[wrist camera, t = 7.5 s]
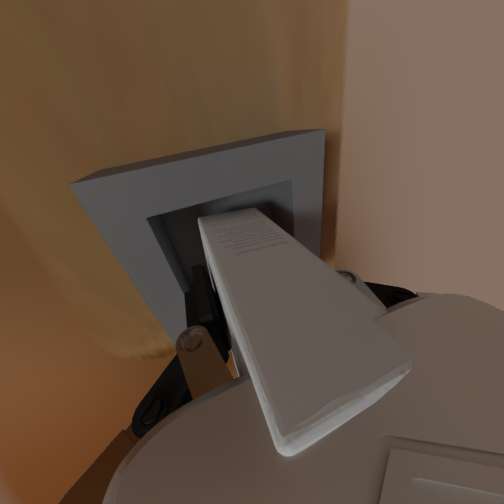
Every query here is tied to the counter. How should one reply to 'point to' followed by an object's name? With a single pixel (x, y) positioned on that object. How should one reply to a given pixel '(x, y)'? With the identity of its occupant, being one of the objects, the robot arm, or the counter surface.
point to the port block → (201, 207)
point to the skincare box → (297, 329)
